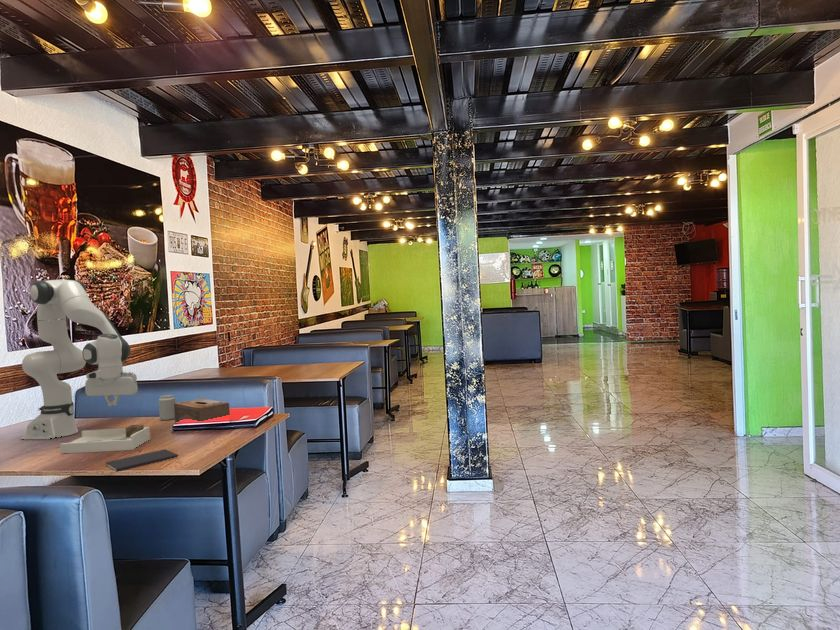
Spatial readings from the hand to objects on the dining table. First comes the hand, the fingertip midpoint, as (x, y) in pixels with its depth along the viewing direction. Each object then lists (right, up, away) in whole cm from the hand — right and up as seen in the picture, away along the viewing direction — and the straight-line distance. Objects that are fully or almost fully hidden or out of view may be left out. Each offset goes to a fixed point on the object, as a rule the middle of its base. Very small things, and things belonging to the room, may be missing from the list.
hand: (112, 405), depth 237 cm
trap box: (0, -16, -4) cm, 17 cm away
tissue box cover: (+25, -14, +33) cm, 44 cm away
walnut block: (+9, -13, 0) cm, 16 cm away
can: (+2, -15, +47) cm, 49 cm away
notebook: (+26, -17, -29) cm, 42 cm away
